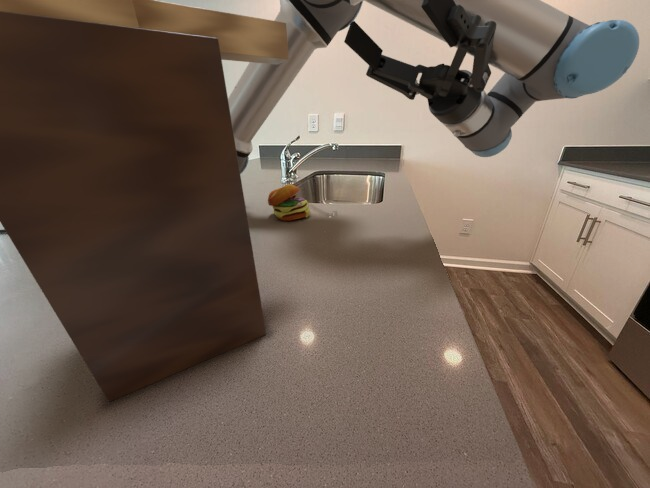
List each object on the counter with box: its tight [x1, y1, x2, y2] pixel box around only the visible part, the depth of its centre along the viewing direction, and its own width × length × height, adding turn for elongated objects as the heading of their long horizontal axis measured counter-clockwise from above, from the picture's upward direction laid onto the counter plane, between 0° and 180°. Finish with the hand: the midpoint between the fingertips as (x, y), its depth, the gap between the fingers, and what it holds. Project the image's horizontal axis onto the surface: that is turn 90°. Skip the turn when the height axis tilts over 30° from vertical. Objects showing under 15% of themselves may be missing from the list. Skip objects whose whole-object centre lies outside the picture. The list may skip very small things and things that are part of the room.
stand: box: [0, 11, 267, 402], centre depth 27 cm, size 16×12×30 cm
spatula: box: [0, 0, 289, 65], centre depth 22 cm, size 22×11×3 cm, turn 122°
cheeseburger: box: [267, 183, 311, 222], centre depth 71 cm, size 10×11×10 cm
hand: (381, 13), depth 32 cm, fingers open, 13 cm apart
